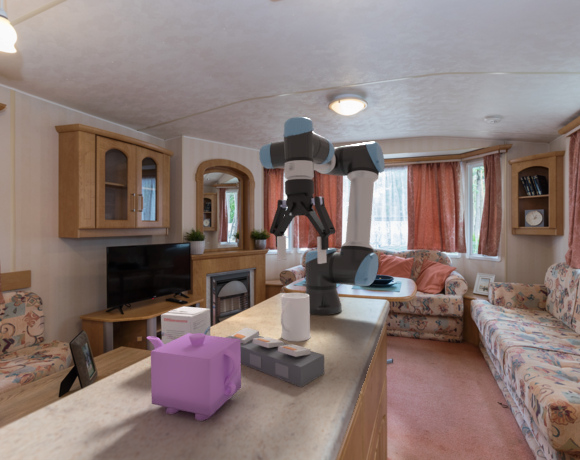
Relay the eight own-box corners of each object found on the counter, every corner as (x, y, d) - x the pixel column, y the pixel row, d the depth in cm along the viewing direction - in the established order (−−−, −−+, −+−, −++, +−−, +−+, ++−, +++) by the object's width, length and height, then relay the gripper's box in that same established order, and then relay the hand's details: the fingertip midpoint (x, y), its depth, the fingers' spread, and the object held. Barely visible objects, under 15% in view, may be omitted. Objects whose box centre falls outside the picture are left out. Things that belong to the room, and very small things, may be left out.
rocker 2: (267, 341, 80) (268, 336, 80) (282, 345, 77) (283, 340, 77) (252, 342, 76) (253, 337, 77) (268, 347, 73) (268, 342, 73)
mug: (292, 347, 87) (292, 302, 87) (267, 341, 92) (267, 298, 92) (316, 335, 96) (315, 294, 96) (292, 330, 102) (292, 291, 101)
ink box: (212, 353, 84) (211, 307, 84) (191, 367, 76) (190, 316, 76) (183, 350, 86) (182, 305, 86) (160, 362, 78) (160, 313, 78)
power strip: (230, 341, 92) (230, 327, 92) (324, 373, 71) (324, 354, 71) (206, 350, 86) (205, 334, 86) (300, 387, 65) (300, 367, 65)
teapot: (253, 398, 62) (252, 330, 61) (224, 429, 52) (222, 350, 52) (166, 381, 68) (165, 321, 68) (126, 407, 59) (125, 337, 59)
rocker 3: (292, 348, 75) (293, 343, 75) (310, 354, 72) (310, 348, 72) (277, 351, 71) (278, 345, 71) (295, 356, 68) (296, 350, 68)
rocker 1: (246, 330, 86) (245, 326, 85) (259, 334, 82) (258, 330, 82) (231, 339, 82) (230, 335, 82) (244, 343, 79) (243, 339, 78)
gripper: (255, 183, 91) (257, 260, 91) (330, 172, 74) (332, 266, 75) (275, 185, 97) (276, 257, 97) (348, 175, 80) (350, 263, 80)
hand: (300, 261), depth 86 cm, fingers open, 13 cm apart
